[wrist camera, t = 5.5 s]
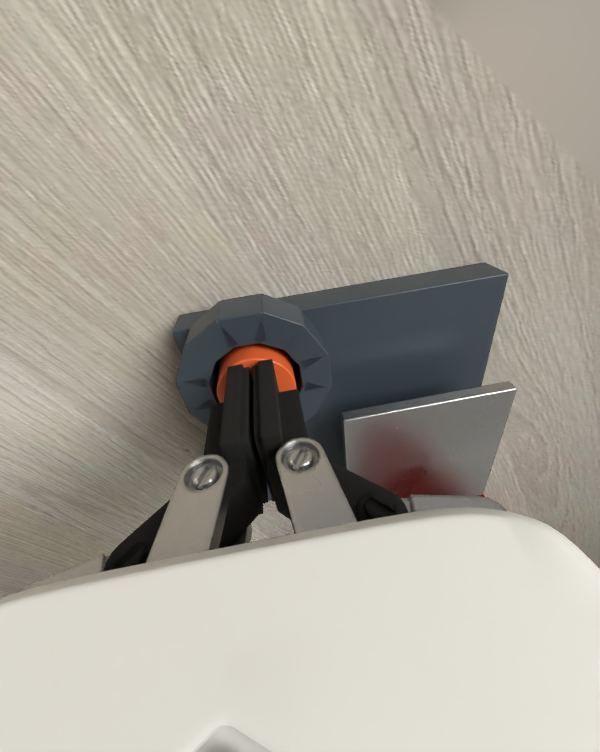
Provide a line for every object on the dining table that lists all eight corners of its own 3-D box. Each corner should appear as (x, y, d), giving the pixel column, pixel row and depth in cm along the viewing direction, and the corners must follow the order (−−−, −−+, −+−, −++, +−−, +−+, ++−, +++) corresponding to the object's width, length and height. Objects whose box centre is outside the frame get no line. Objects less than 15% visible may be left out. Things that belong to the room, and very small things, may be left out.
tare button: (211, 343, 13) (206, 367, 11) (286, 329, 13) (290, 351, 11) (230, 401, 15) (228, 428, 13) (296, 389, 15) (301, 414, 13)
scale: (171, 294, 14) (151, 330, 11) (489, 240, 14) (549, 261, 11) (241, 482, 21) (240, 534, 18) (449, 443, 22) (479, 487, 19)
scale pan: (340, 411, 14) (343, 420, 14) (508, 380, 14) (518, 388, 14) (347, 511, 18) (350, 521, 18) (477, 486, 19) (483, 495, 18)
